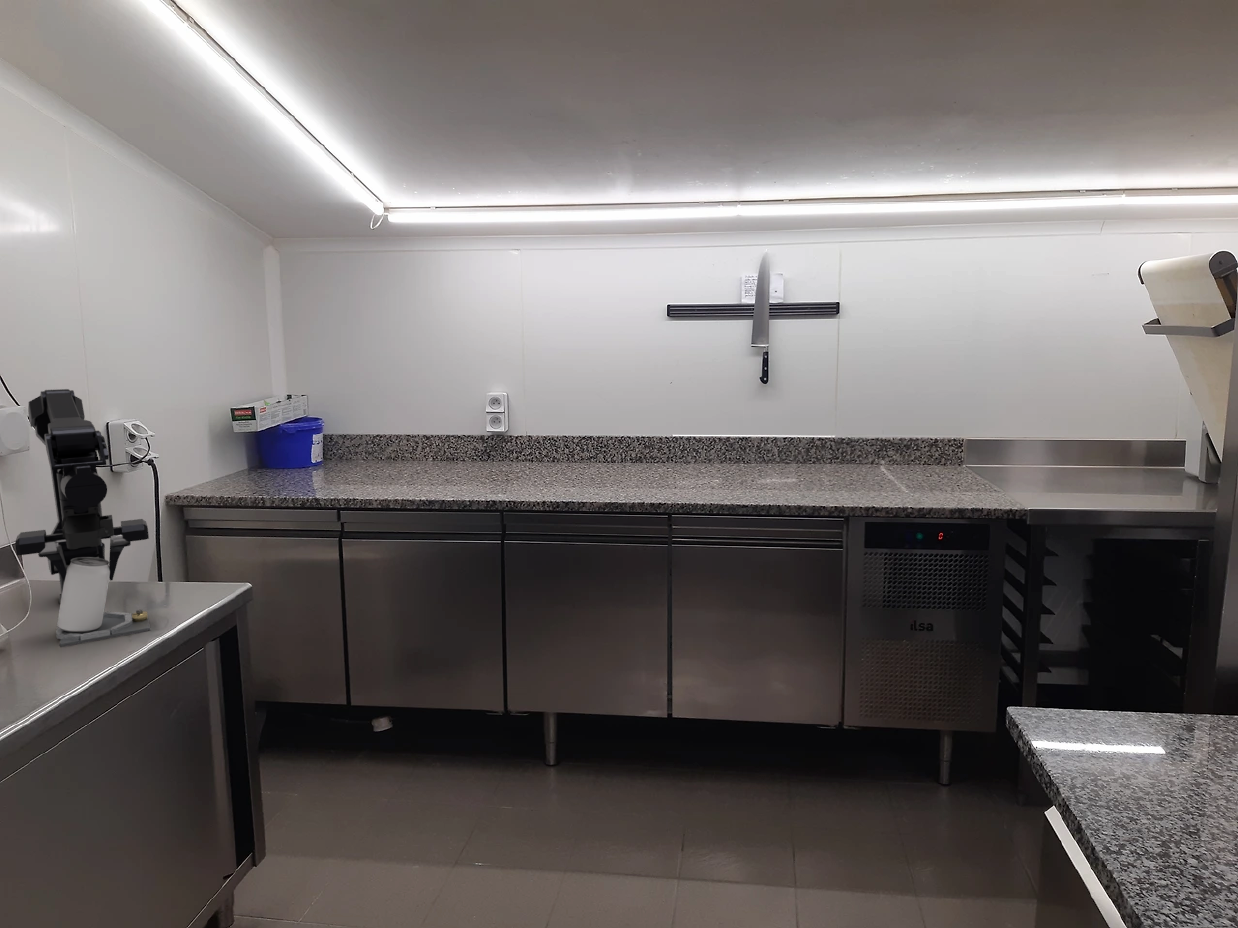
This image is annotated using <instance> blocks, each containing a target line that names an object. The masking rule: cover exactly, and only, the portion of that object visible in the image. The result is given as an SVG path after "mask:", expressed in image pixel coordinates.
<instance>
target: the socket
mask: <svg viewBox="0 0 1238 928" xmlns="http://www.w3.org/2000/svg"><path fill="white" fill-rule="evenodd" d="M103 618H118V619H125V622H123V623H121V624H118V625H116V626H114V627H112V628H110V629H106V630H101V631H95V632H90V633H84V634H77V633H66V632H64V630H61V629H60V628H59V627H58V625H57V626H56V631H55V633H56V634H55V635H56V639H58V640H60V639H66V640H77V641H79V640H86V639H92V638H97V637H103V636H108V635H110V634H114V633H117V632H119V631H121V630H123V629H125V628H127V627H129V626H132V617H131V612H123V611H122V612H119V611H112V610H111V611H104V614H103Z"/></svg>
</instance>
